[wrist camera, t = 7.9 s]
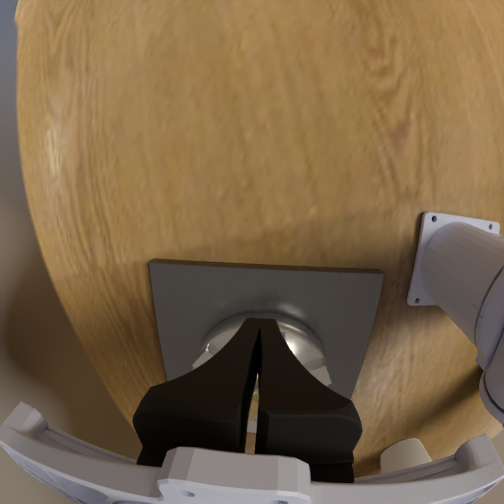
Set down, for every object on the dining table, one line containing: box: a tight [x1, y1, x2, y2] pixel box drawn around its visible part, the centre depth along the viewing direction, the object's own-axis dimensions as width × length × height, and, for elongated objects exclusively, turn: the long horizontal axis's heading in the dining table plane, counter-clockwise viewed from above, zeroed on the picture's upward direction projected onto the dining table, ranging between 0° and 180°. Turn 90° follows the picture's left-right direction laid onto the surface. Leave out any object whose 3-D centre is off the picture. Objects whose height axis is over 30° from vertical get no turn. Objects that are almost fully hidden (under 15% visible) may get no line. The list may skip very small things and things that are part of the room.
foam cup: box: [380, 438, 432, 474], centre depth 22 cm, size 10×9×13 cm
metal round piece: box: [192, 313, 332, 433], centre depth 20 cm, size 15×11×7 cm
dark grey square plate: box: [149, 259, 384, 400], centre depth 23 cm, size 18×18×1 cm
